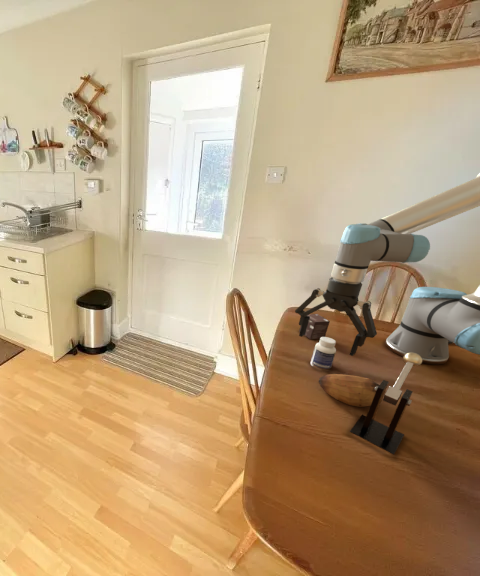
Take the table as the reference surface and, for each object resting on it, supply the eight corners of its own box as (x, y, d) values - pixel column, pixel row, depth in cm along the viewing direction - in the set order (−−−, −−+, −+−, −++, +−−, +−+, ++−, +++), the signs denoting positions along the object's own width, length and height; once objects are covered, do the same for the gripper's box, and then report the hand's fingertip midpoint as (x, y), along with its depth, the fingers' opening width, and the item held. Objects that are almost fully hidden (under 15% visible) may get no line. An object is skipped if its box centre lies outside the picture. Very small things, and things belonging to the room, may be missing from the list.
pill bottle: (333, 372, 97) (342, 345, 93) (314, 370, 98) (322, 343, 94) (325, 362, 101) (333, 336, 98) (307, 360, 102) (314, 334, 99)
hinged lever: (404, 356, 76) (407, 347, 74) (422, 362, 74) (425, 353, 72) (379, 400, 71) (381, 392, 69) (398, 408, 68) (401, 400, 67)
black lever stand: (360, 417, 79) (378, 372, 74) (402, 438, 73) (424, 390, 68) (348, 434, 74) (366, 387, 69) (392, 458, 68) (415, 408, 63)
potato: (319, 405, 88) (319, 378, 92) (383, 416, 80) (380, 386, 84) (317, 394, 83) (317, 367, 87) (386, 404, 75) (382, 374, 79)
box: (298, 331, 121) (302, 314, 118) (312, 330, 121) (317, 313, 119) (310, 339, 115) (315, 321, 112) (325, 338, 116) (330, 320, 113)
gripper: (293, 271, 96) (278, 331, 104) (400, 296, 77) (372, 367, 85) (304, 266, 100) (288, 325, 108) (408, 290, 82) (380, 358, 89)
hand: (325, 344), depth 97 cm, fingers open, 13 cm apart
